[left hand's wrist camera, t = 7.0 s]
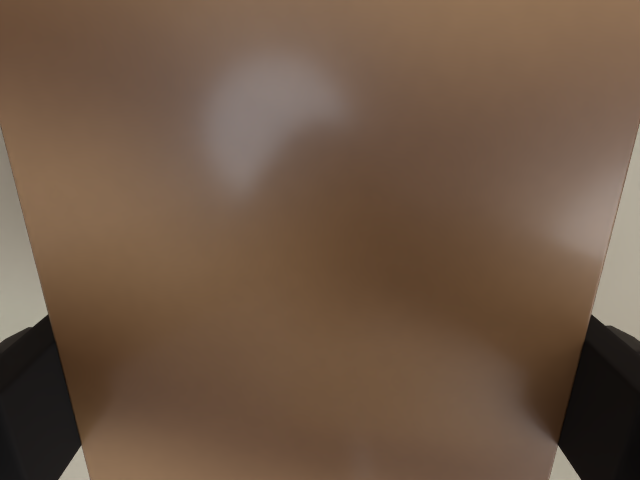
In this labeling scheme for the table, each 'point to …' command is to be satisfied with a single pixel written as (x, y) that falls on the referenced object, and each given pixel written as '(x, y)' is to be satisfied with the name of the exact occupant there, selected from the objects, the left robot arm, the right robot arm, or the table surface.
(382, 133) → the cabinet
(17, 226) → the table surface
